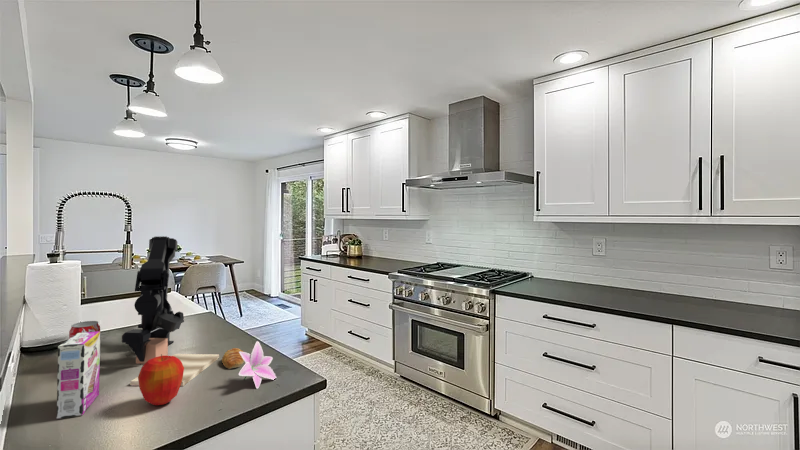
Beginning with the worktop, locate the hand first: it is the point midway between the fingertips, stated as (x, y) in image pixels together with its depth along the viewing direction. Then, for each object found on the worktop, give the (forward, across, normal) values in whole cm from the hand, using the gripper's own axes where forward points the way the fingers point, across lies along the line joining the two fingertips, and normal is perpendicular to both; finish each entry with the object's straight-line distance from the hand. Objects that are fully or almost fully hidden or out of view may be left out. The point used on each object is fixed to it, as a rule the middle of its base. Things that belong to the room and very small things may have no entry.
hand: (152, 355), depth 117 cm
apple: (+1, -27, -20) cm, 34 cm away
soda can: (+1, -6, +16) cm, 17 cm away
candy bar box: (+1, -29, -2) cm, 29 cm away
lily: (+2, -15, -38) cm, 41 cm away
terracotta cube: (+1, 0, 0) cm, 1 cm away
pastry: (+2, -2, -26) cm, 27 cm away
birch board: (+1, -8, -13) cm, 15 cm away
